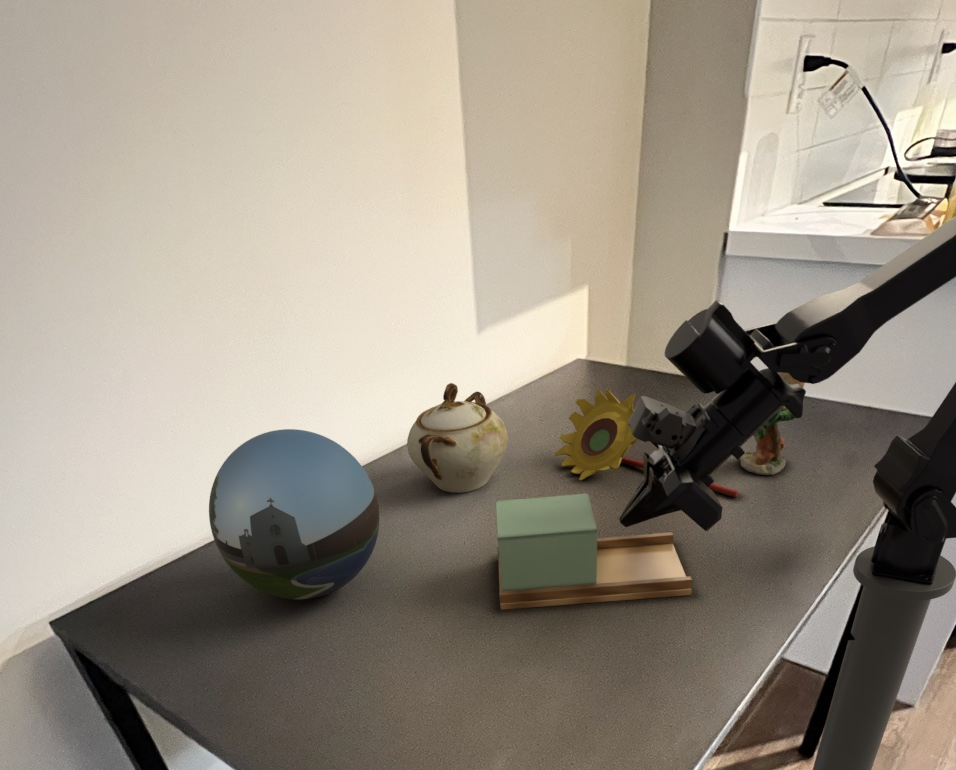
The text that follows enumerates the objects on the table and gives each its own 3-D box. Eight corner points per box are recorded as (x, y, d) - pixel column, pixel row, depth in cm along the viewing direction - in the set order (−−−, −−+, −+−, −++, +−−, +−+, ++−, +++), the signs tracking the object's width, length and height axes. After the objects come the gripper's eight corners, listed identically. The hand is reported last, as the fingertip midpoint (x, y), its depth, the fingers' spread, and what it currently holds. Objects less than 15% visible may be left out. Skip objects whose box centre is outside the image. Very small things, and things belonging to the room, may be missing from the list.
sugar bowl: (478, 516, 105) (467, 411, 96) (388, 504, 111) (369, 403, 102) (530, 459, 119) (525, 362, 109) (447, 451, 124) (436, 358, 115)
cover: (587, 551, 93) (587, 493, 88) (596, 589, 87) (597, 529, 82) (500, 558, 94) (495, 501, 89) (502, 597, 87) (497, 537, 82)
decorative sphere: (353, 640, 85) (312, 476, 72) (208, 624, 90) (146, 469, 78) (414, 553, 99) (388, 403, 86) (285, 543, 104) (243, 401, 92)
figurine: (749, 452, 113) (764, 349, 103) (800, 461, 109) (821, 355, 100) (726, 476, 108) (740, 370, 98) (779, 486, 104) (798, 376, 94)
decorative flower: (701, 523, 98) (535, 465, 116) (730, 523, 104) (568, 467, 122) (737, 419, 93) (557, 374, 111) (765, 425, 99) (590, 381, 117)
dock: (670, 545, 94) (672, 531, 93) (691, 595, 85) (692, 580, 84) (498, 559, 96) (497, 545, 94) (500, 609, 87) (499, 595, 86)
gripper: (661, 343, 82) (564, 449, 90) (700, 402, 68) (580, 522, 76) (725, 407, 87) (627, 502, 94) (774, 475, 72) (655, 581, 80)
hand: (622, 523), depth 86 cm, fingers closed
